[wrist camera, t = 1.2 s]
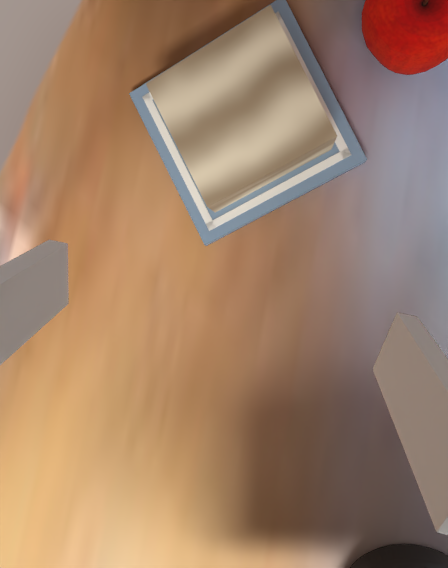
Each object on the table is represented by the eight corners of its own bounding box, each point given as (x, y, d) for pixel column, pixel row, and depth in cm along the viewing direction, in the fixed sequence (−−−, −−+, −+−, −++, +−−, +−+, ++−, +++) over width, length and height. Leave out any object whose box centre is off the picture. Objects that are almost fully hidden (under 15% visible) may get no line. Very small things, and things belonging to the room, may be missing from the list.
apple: (335, 69, 37) (348, 18, 29) (384, -16, 35) (412, -94, 28) (417, 111, 36) (454, 69, 28) (470, 24, 34) (524, -44, 27)
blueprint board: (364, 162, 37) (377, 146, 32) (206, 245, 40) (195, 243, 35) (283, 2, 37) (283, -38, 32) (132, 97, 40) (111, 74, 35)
